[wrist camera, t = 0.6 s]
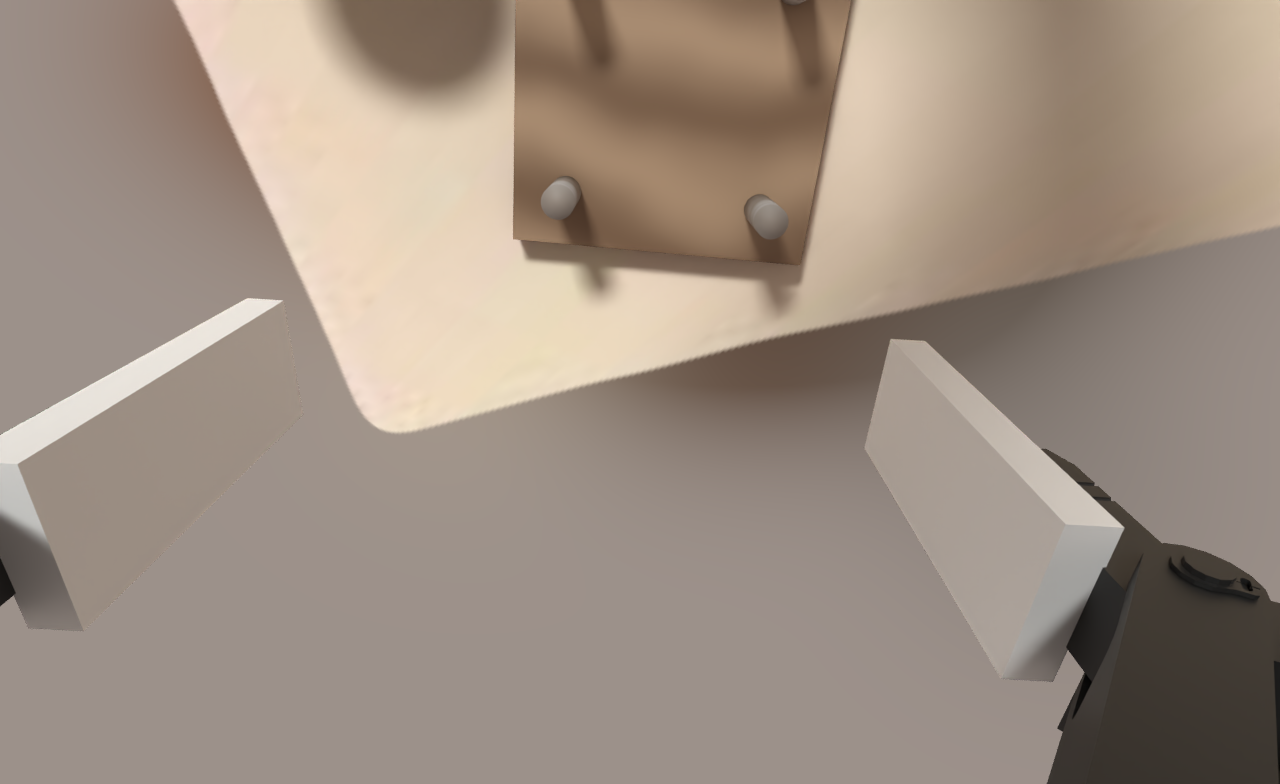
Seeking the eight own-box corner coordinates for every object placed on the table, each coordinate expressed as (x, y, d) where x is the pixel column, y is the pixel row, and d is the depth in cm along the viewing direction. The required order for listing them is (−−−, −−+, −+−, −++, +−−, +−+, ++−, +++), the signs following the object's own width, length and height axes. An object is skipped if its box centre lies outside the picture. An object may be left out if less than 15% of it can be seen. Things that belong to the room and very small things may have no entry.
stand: (522, -108, 31) (499, -146, 26) (856, -72, 32) (896, -102, 27) (517, 233, 38) (498, 255, 33) (794, 258, 38) (817, 284, 33)
